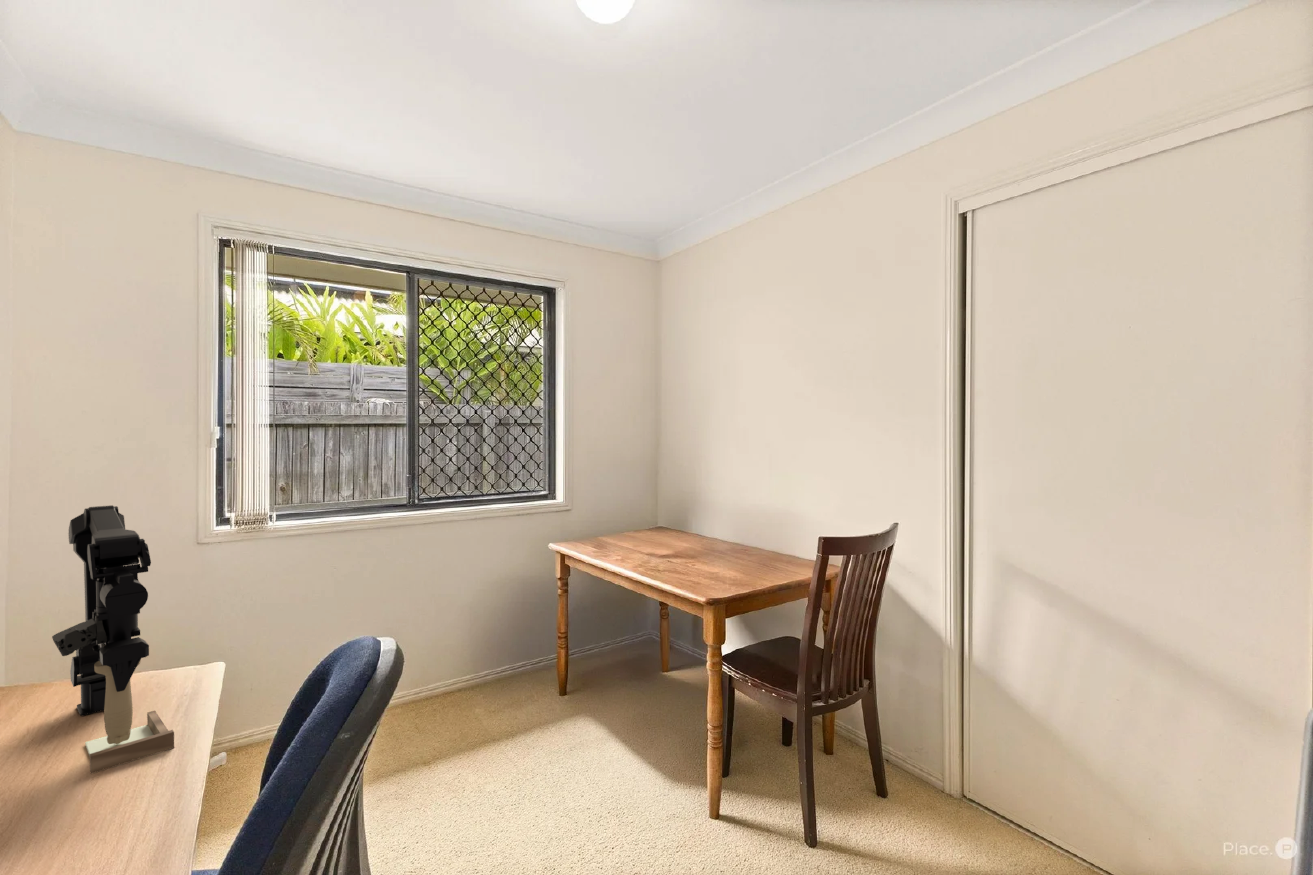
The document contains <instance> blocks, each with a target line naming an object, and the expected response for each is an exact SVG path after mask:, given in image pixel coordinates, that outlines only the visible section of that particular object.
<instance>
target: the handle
mask: <svg viewBox="0 0 1313 875" xmlns="http://www.w3.org/2000/svg"><path fill="white" fill-rule="evenodd" d="M141 662H142V660H140V662H139V663H138V665H137V667H138V666H140V665H141ZM94 670H95V672H96V673H98V674H103V675H105V676H106V693H105V707H104V710H103V722H104V730H105V734H106V736H108V737H107V742H108V744H119V743H121V742H123V741H126V740H128V739H129V737H130V732H131V730H130V729H132V725H133V715H134V714H133V713H134V710H133V708H134V707H133V705H134V704H133V697H132V694H133V693H132V685H131V682H132V681H131V679H130V680H129V682H128V684H127V686H126V688H125V690H124V691H120V692H117V691H116V688H115V684H114V680H113V676H112V673H111V669H110V667H109V666H107V665H106V666H103V665H102V664H101V663H100V661H98V662H96V663H95V664H94Z"/></svg>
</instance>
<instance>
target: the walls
mask: <svg viewBox="0 0 1313 875" xmlns="http://www.w3.org/2000/svg"><path fill="white" fill-rule="evenodd" d="M146 715H147V716H146V718H147V719H146V720H147V721H146V722H147V724H146V725H148V726H149V728H150V730H151V731H152V733H153V736H149V737H146V738H142V739H139V740H136V741H132V742H129V743H125V744H122V745H119V746H115V747H112V748H109V749H105V750H102V751H98V752H95V753H92V754H90V756H89V772H90V774H91V775H92V774H95V773H98V772H101V771H104V770H108V769H111V768H114V767H117V766H120V765H123V764H127V763H130V762H134V761H137V760H140V759H143V758H146V757H150V756H152V755H157V754H159V753H162V752H165V751H168V750H169V751H170V750H171V749H174V748H175V731H174V730H173V729H168V728H167V726H166V724H165V723H164V722H163V720H162V718H161V717H160V716H159V714H158V713H157V711H156V710H152V711H148V712H147V713H146Z"/></svg>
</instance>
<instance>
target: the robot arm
mask: <svg viewBox="0 0 1313 875" xmlns="http://www.w3.org/2000/svg"><path fill="white" fill-rule="evenodd" d="M145 541H146V540H145V539H144V538H141V537H140V534H139V533H137V532H136V531H135V530H133V529H126V523H125V515H124V514H123V513H120V512H119V507H118V506H115V505H113V504H112V505H99V506H89V507H87V508H84V510H83V512H82V513H81V514H79V515H78V516H75V517H73V518H71V519H70V522H69V525H68V543H69V545H72V547H73V550H72V551H73V552H74V553H75V554H76V555H77V556H78V558H79V559H80V561H82V562H83V573H84V574H83V579H84V580H83V581H84V582H83V583H84V584H83V585H84V610H85V611H84V612H85V614H84V618H85V621H83V622H80V623H77V624H75V625H73V626H70V627H68V628H66V629H64V630H62V631H59V632H58V633H57V632H56V633H55V634H53V635H52V637H51V639H52V641H53V643H54V644H55V646H56V648H57V649H58V651H59V653H60V654H61V656H62V657H67V656H69V655H72V654H74V652H75V656H72V658H71V665H70V670H69V672H70V682H71V685H72V687H73V688H75V687H77V686H80V703H78V704H77V705H76V708H77V712H78V713H79V716H80V717H83V716H88V715H91V714H95V713H99V712H104V707H105V693H106V676H105V675H103V674H98V673H96V672H95V670H94V664H95V663H96V662H98V661H100V663H101V664H102V665H103V666H106V665H107V666H109V667H110V669H111V673H112V676H113V680H114V684H115V688H116V691H117V692H120V691H124V690H125V688H126V686H127V684H128V682H129V680H130V681H131V679H132V677H133V674H135V671H136V669H137V667H138V666H139V665H138V663H139V662H140V660H141V659H143V658H148V657H149V656H150V648H149V647H150V644H148V642H147V641H146V640H144V639H143V638H141V637H140V636H141V629H140V628H139V614H141V609H143V607H144V606H145V605H146V604H147V601H148V599H149V592H148V590H147V588H146V587H145V586H144V585H143V584H142V583H141V582H140V581H139V578H138V574H143V573H148V572H149V567H151V564H152V560H151V555H150V551H149V546H148V543H146V542H145ZM141 661H142V660H141ZM140 663H141V662H140ZM137 665H138V666H137Z"/></svg>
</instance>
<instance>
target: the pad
mask: <svg viewBox="0 0 1313 875" xmlns="http://www.w3.org/2000/svg"><path fill="white" fill-rule="evenodd" d="M130 730H131V732H130V737H129V739H128V740H126V741H123V742H121V743H119V744H108V742H107V737H108V735H105V736H103V737H102V736H101V737H99V738H96V739H90V740H89V741H88V740H87V741H85V744H84V745H85V748H86V751H87V753H88V756H89V757H90V754H92V753H95V752H98V751H102V750H105V749H109V748H112V747H115V746H119V745H122V744H125V743H129V742H132V741H136V740H139V739H142V738H146V737H149V736H153V733H152V731H151V730H150V728H149V726H148V725H147V724H145V725H141V726H138V727H134V728H131V729H130Z"/></svg>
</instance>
